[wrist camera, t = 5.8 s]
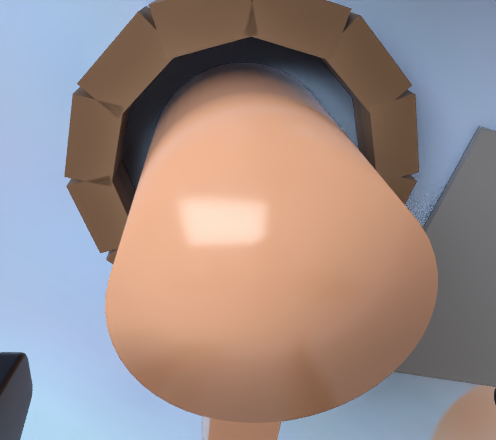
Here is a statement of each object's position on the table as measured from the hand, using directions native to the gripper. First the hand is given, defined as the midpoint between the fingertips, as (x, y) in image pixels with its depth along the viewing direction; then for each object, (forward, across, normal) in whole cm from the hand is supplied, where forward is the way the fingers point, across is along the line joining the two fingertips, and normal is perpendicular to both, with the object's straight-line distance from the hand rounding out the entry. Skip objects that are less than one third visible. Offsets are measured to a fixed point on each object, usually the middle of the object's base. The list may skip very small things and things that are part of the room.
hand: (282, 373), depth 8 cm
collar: (+10, 0, 0) cm, 10 cm away
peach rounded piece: (+10, 0, +2) cm, 10 cm away
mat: (+10, -12, +5) cm, 17 cm away
